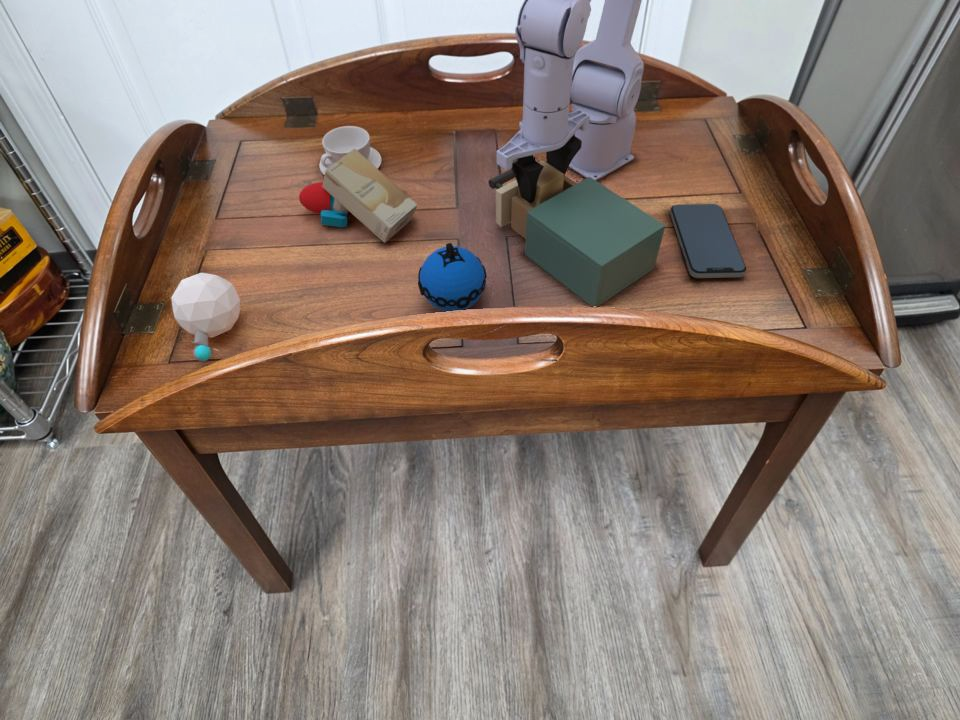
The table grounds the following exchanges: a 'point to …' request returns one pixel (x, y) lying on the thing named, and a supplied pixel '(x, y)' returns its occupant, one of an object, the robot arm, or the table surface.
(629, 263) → the cabinet
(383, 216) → the cosmetic box
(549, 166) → the block
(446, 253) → the ornament
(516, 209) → the drawer
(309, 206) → the toy figure
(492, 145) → the table surface
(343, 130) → the teacup
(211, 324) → the perfume bottle
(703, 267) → the smartphone
